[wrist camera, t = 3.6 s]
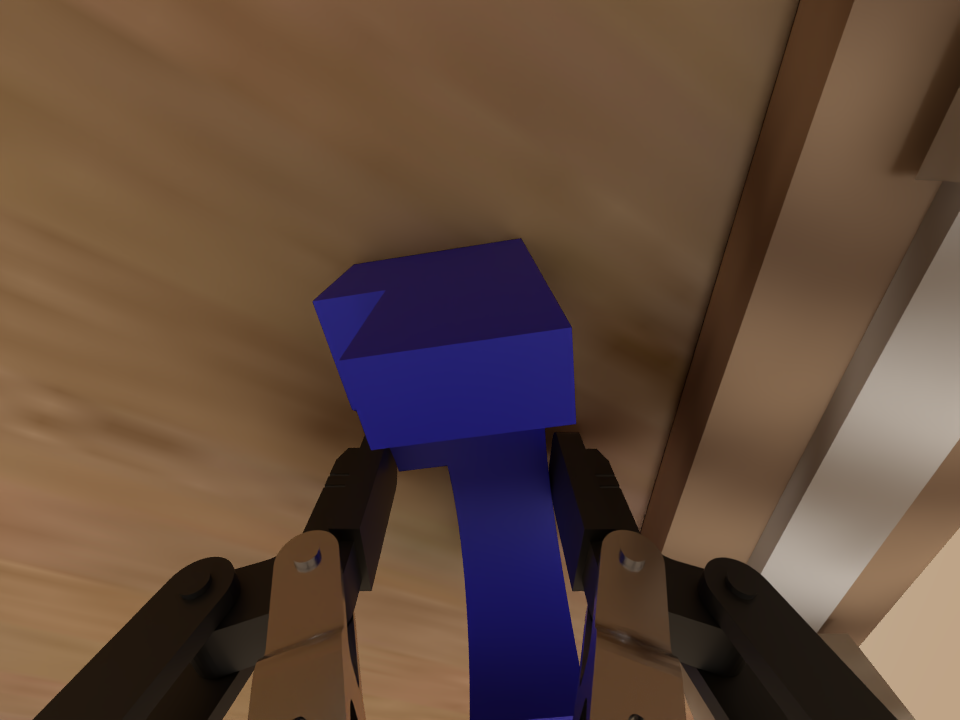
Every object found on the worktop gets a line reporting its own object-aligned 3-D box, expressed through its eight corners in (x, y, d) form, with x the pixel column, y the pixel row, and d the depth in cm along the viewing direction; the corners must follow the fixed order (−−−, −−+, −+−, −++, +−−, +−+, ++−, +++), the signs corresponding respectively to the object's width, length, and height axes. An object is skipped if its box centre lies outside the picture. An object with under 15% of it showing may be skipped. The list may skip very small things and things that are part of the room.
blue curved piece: (353, 264, 10) (228, 375, 5) (520, 238, 10) (571, 327, 5) (441, 554, 16) (424, 753, 11) (551, 542, 16) (590, 740, 10)
